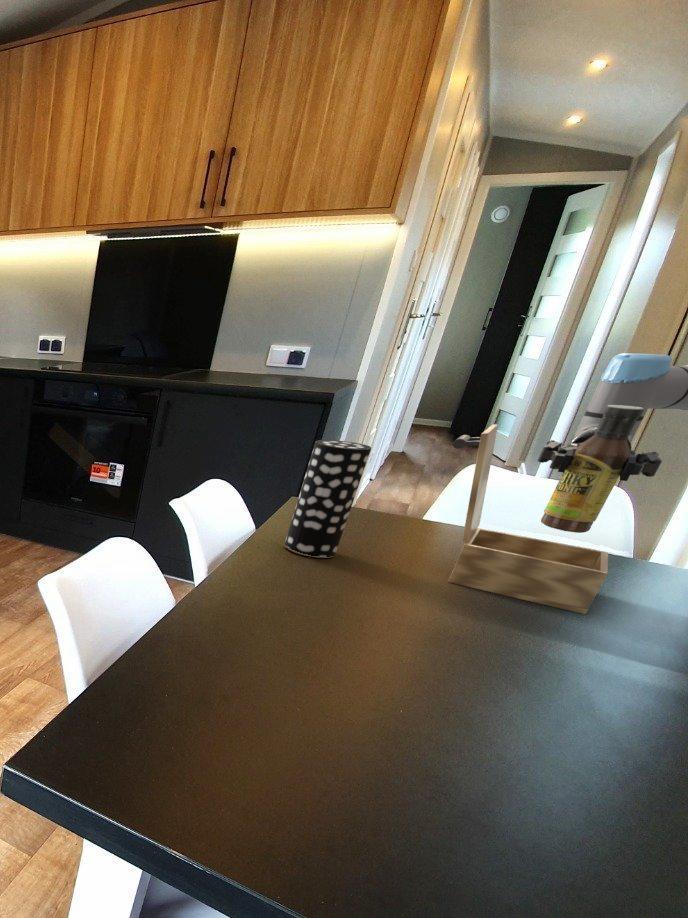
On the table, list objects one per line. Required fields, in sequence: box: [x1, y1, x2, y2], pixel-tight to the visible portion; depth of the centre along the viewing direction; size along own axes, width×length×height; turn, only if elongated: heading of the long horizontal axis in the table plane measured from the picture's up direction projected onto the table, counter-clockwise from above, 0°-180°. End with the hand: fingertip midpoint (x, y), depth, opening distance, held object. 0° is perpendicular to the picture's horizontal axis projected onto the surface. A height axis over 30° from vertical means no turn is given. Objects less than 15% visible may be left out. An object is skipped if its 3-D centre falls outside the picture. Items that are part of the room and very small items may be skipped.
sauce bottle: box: [540, 405, 644, 534], centre depth 102 cm, size 6×6×20 cm
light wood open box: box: [447, 527, 609, 615], centre depth 105 cm, size 17×14×7 cm
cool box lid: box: [452, 423, 499, 543], centre depth 107 cm, size 17×14×4 cm
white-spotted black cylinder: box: [284, 439, 372, 557], centre depth 116 cm, size 8×8×20 cm
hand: (595, 467), depth 99 cm, fingers closed on sauce bottle, 6 cm apart
